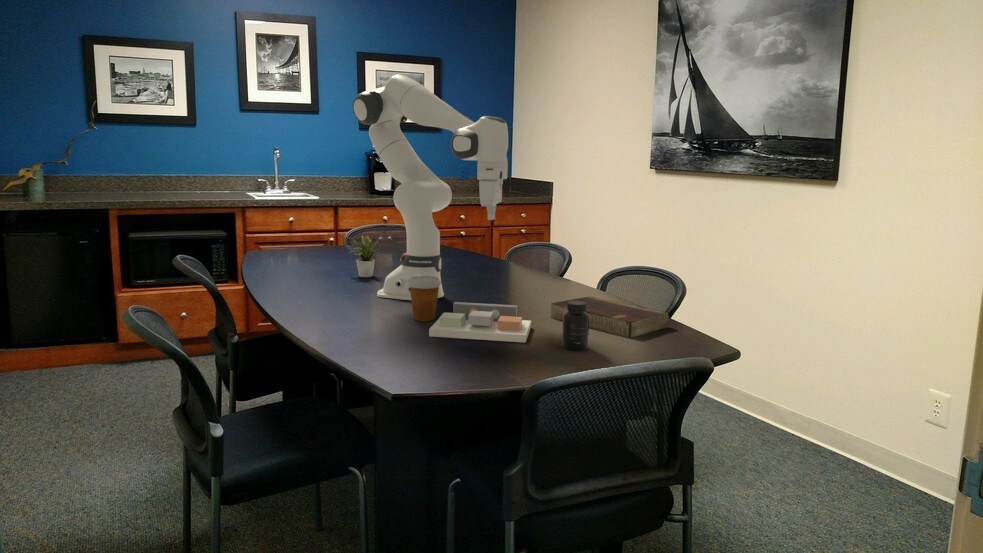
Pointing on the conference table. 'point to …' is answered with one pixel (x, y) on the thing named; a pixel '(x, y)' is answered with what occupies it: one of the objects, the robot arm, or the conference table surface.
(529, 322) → the keypad
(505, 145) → the robot arm
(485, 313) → the grey key
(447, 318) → the sage key
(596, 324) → the hardback book
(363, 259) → the house plant
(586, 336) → the supplement bottle
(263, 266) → the conference table surface
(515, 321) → the terracotta key
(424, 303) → the disposable coffee cup
